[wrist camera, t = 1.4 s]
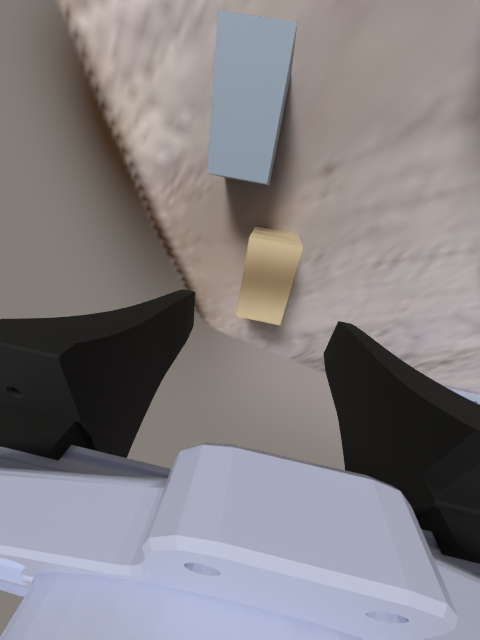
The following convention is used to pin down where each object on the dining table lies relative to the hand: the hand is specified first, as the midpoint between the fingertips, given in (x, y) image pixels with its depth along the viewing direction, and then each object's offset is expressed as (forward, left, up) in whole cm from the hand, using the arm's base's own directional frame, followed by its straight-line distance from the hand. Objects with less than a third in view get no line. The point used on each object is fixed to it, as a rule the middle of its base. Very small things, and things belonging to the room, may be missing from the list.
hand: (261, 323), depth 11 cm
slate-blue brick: (+9, +3, -10) cm, 14 cm away
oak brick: (0, 0, -10) cm, 10 cm away
